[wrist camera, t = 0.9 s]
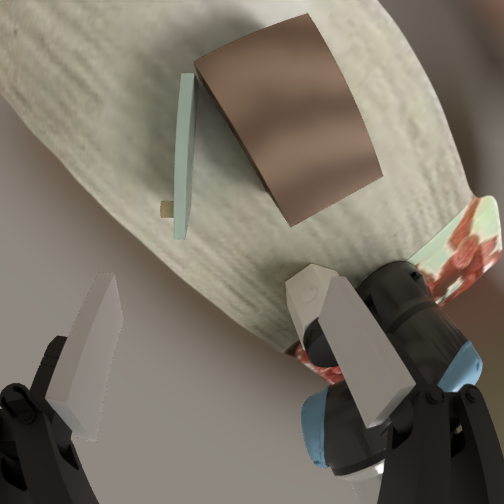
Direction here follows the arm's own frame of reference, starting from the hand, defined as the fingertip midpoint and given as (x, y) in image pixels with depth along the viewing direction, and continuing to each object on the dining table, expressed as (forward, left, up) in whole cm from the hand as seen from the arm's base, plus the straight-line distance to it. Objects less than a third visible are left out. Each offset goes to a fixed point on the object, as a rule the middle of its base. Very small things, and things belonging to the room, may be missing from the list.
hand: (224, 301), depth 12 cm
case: (+3, -10, -22) cm, 24 cm away
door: (+6, +1, -21) cm, 22 cm away
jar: (-21, -4, -22) cm, 30 cm away
